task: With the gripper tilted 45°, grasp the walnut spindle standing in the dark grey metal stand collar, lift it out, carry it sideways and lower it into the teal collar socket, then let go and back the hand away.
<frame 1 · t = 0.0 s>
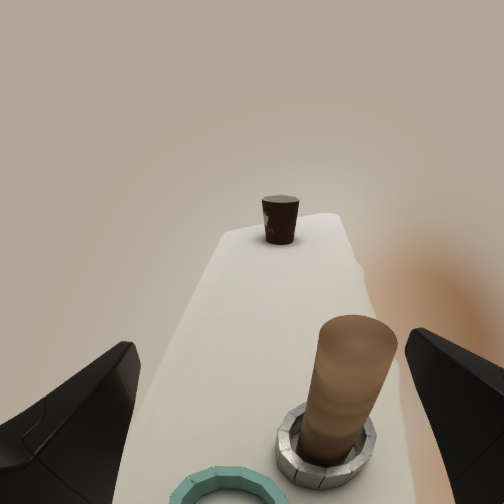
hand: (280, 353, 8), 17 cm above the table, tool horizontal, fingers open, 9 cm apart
stand collar: (321, 451, 19), on the table
walnut spindle: (337, 409, 16), in the stand collar
coffee mug: (280, 238, 69), on the table
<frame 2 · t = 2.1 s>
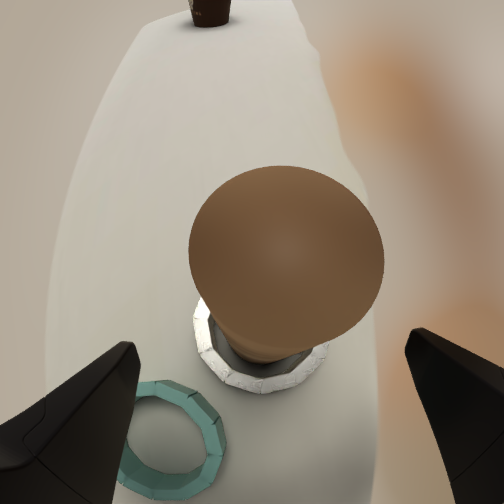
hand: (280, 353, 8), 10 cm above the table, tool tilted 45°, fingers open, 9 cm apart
teal collar socket: (166, 435, 15), on the table
stand collar: (261, 331, 18), on the table
walnut spindle: (268, 309, 12), in the stand collar
coffee mug: (212, 20, 40), on the table
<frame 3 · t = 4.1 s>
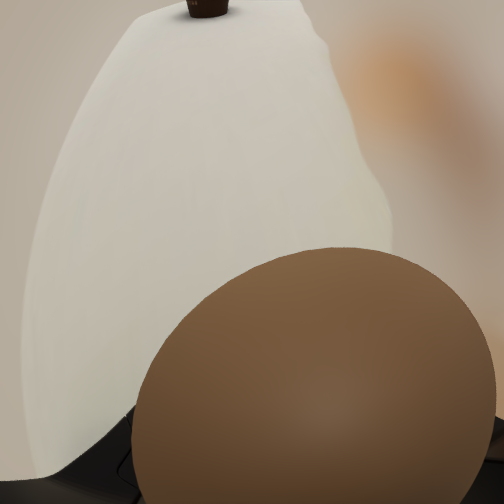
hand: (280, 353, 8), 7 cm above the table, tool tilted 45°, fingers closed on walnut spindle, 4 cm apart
walnut spindle: (279, 396, 8), in the stand collar, touching gripper
coffee mug: (209, 11, 35), on the table
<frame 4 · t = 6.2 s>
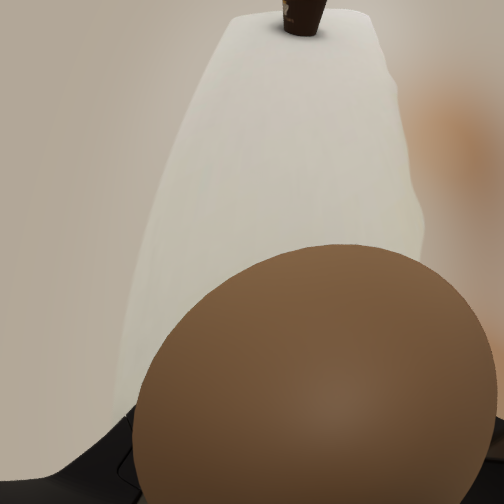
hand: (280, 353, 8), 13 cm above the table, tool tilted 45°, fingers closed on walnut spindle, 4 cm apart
walnut spindle: (280, 395, 8), point 13 cm above the table, touching gripper
coffee mug: (300, 29, 43), on the table
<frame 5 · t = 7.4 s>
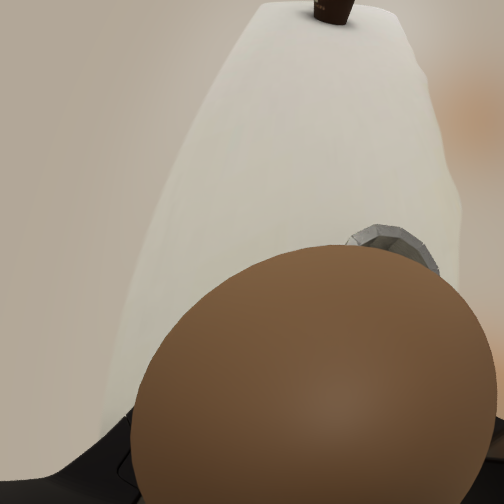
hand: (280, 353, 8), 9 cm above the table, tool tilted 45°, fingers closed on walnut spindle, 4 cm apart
stand collar: (375, 294, 18), on the table
walnut spindle: (279, 396, 8), point 9 cm above the table, touching gripper
coffee mug: (330, 18, 40), on the table
when the fingers open (8 cm above the table, at t = 8.3 s): walnut spindle drops 1 cm, resting in teal collar socket.
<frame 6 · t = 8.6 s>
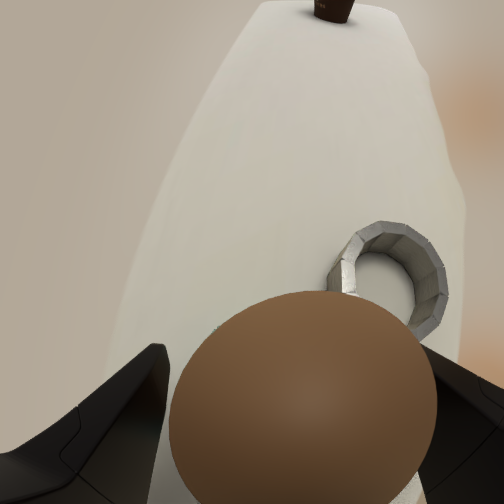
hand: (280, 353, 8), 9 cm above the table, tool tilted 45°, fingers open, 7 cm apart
stand collar: (379, 293, 18), on the table
walnut spindle: (275, 394, 9), in the teal collar socket
coffee mug: (330, 16, 39), on the table
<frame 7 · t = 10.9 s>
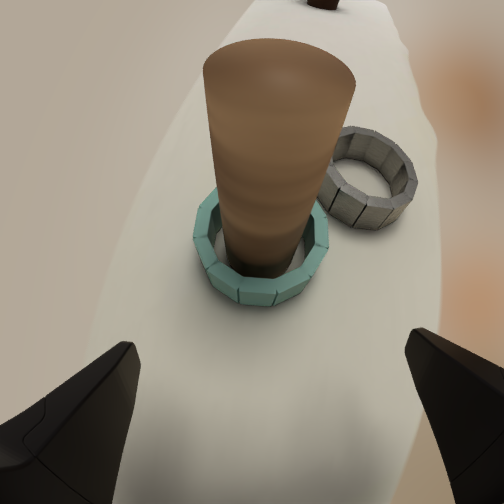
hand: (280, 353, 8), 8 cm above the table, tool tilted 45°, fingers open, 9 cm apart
teal collar socket: (259, 248, 19), on the table
stand collar: (358, 186, 21), on the table
walnut spindle: (266, 191, 13), in the teal collar socket
coffee mug: (322, 5, 42), on the table
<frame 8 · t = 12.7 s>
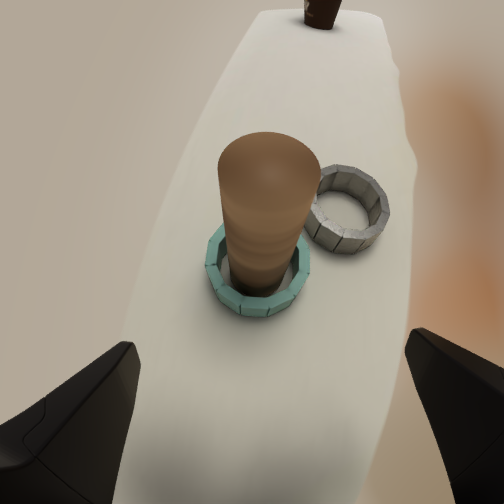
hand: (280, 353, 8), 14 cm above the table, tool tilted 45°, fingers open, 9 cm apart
teal collar socket: (256, 271, 24), on the table
stand collar: (340, 216, 26), on the table
walnut spindle: (261, 235, 18), in the teal collar socket
coffee mug: (318, 23, 48), on the table
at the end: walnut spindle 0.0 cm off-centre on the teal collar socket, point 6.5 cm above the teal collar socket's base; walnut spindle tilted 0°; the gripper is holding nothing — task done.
